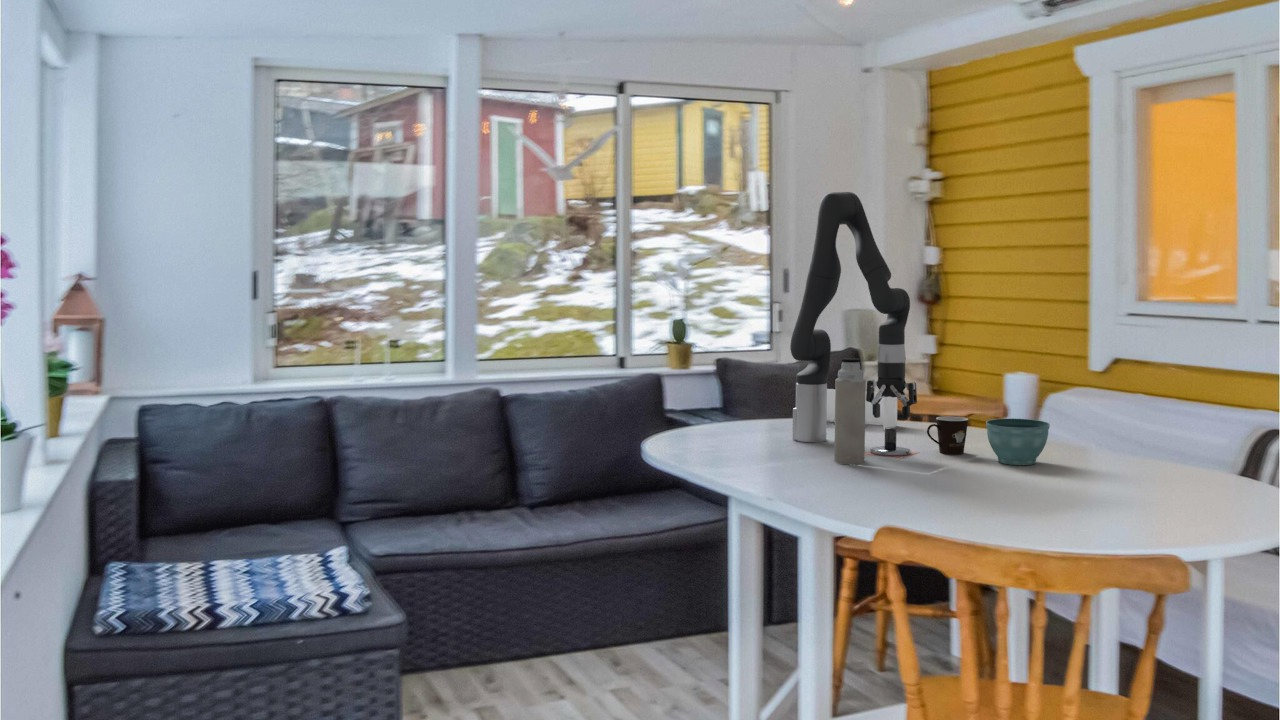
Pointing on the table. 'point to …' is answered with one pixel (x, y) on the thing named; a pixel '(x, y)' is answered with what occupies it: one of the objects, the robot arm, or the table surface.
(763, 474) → the table surface
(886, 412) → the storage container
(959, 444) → the coffee mug
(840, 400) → the thermos bottle
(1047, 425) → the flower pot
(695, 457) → the table surface
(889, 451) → the lid
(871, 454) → the mat
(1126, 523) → the table surface
